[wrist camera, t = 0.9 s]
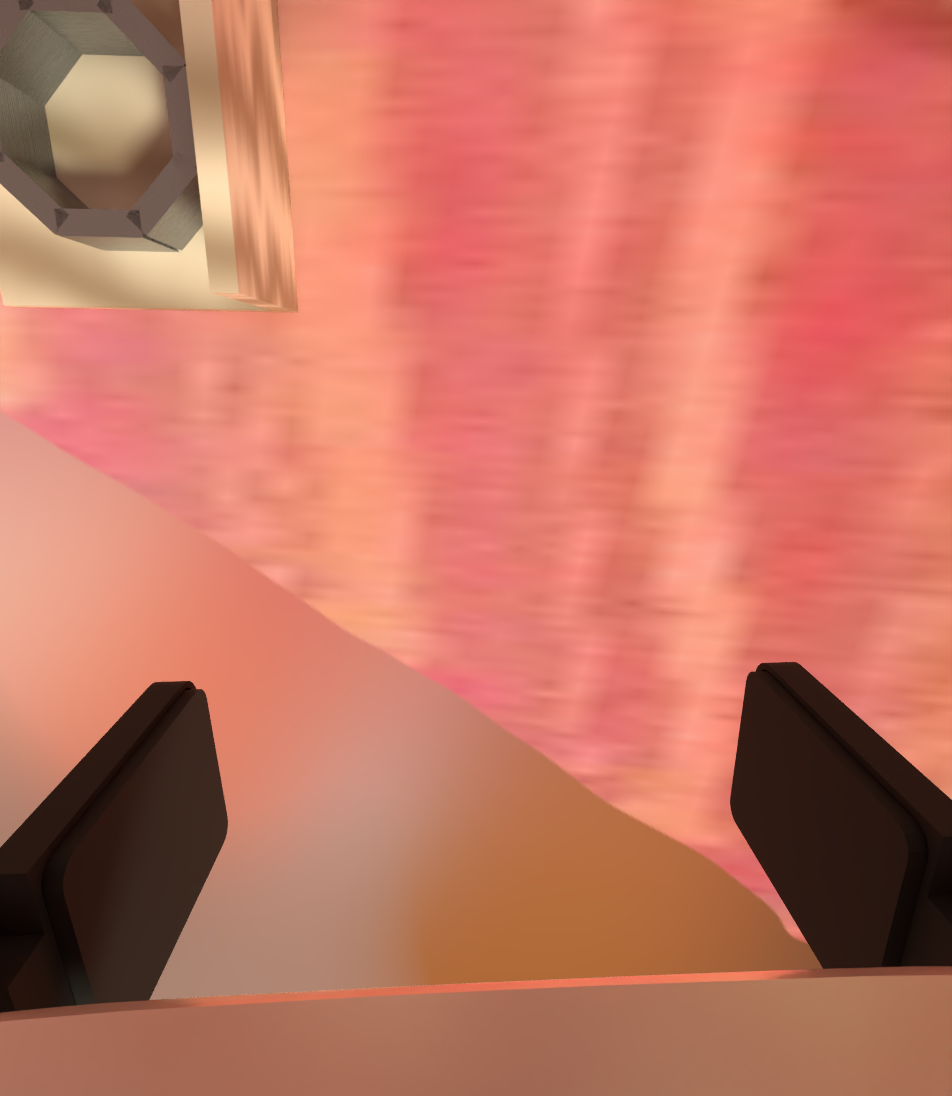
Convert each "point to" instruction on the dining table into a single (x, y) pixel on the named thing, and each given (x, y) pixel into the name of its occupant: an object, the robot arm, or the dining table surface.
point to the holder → (144, 156)
